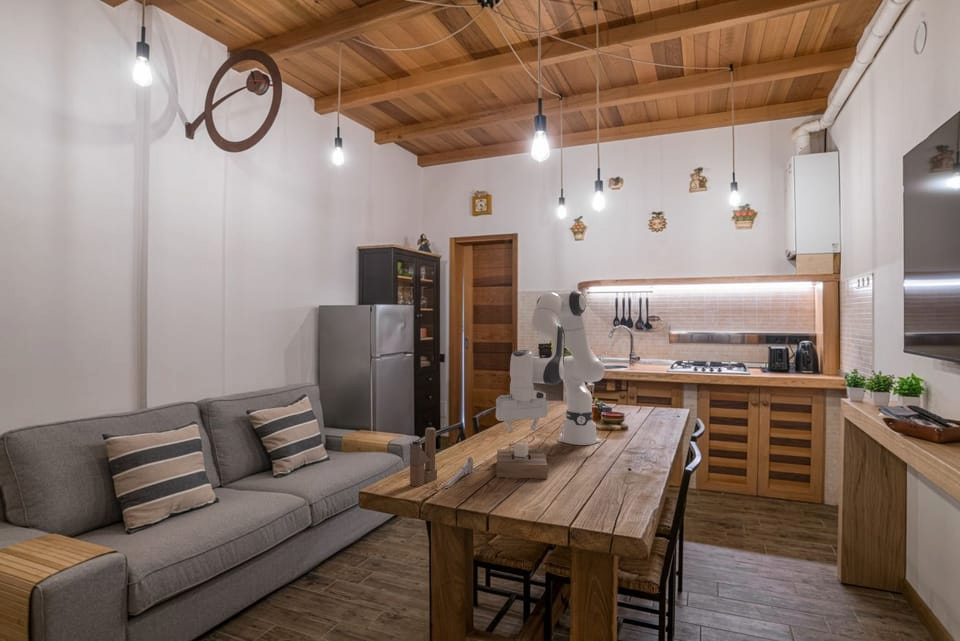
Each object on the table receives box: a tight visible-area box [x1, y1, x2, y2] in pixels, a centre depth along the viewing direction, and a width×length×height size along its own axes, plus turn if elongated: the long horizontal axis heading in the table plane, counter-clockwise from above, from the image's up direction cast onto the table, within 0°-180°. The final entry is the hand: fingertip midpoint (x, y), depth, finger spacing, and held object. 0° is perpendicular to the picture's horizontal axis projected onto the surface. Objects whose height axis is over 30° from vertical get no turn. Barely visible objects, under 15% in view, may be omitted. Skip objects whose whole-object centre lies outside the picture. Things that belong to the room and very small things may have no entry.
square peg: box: [513, 441, 529, 459], centre depth 190 cm, size 4×4×10 cm
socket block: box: [496, 448, 549, 480], centre depth 190 cm, size 20×18×5 cm
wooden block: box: [409, 426, 438, 488], centre depth 176 cm, size 4×11×18 cm, turn 147°
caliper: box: [444, 456, 474, 489], centre depth 178 cm, size 20×1×6 cm, turn 156°
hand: (521, 430), depth 190 cm, fingers open, 8 cm apart
